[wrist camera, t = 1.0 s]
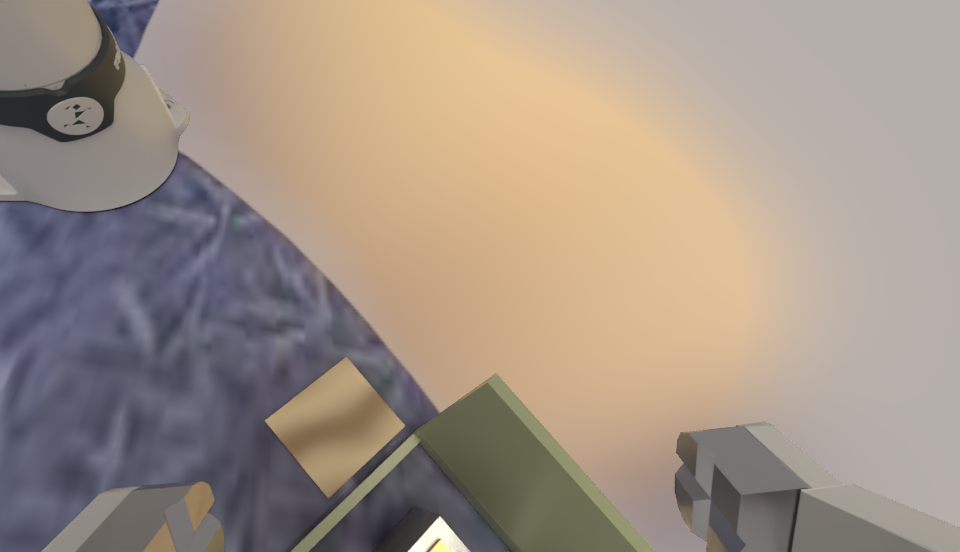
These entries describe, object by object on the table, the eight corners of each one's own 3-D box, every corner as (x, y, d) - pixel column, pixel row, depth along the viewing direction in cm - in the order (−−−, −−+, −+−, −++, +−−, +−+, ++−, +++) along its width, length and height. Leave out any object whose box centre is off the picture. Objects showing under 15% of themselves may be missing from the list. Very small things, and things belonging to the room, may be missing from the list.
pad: (265, 421, 41) (264, 420, 41) (346, 357, 46) (346, 356, 45) (328, 498, 41) (328, 498, 40) (404, 426, 45) (405, 425, 44)
